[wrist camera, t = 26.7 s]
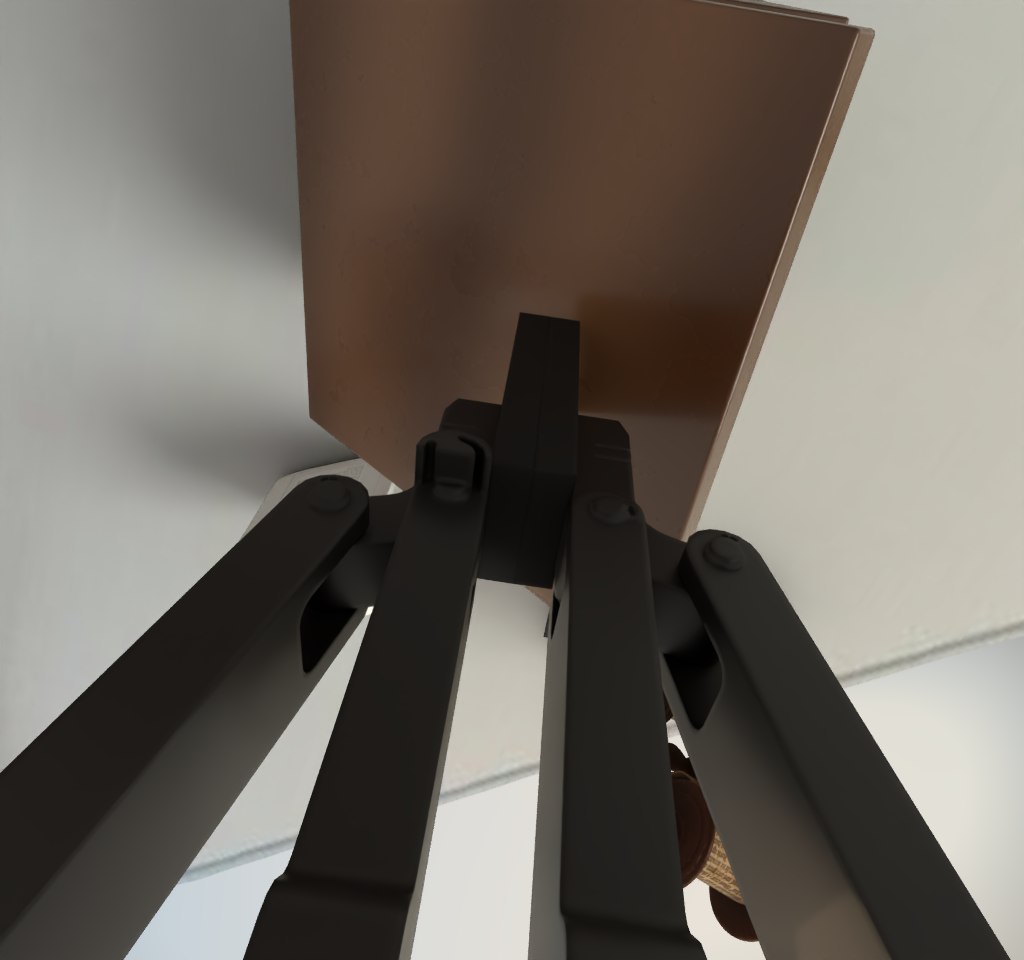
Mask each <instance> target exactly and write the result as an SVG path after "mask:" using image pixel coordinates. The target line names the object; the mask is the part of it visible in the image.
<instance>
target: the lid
mask: <svg viewBox="0 0 1024 960" xmlns="http://www.w3.org/2000/svg"><path fill="white" fill-rule="evenodd" d="M289 7H290V27H291V47H292V68H293V88H294V108H295V129H296V149H297V170H298V190H299V210H300V231H301V251H302V271H303V292H304V312H305V332H306V353H307V373H308V393H309V414H310V418H311V419H312V420H313V421H315V422H316V423H317V424H318V425H320V426H321V427H322V428H323V429H325V430H326V431H327V432H329V433H330V434H331V435H332V436H334V437H335V438H336V439H337V440H339V441H340V442H341V443H343V444H344V445H345V446H346V447H348V448H349V449H350V450H351V451H353V452H354V453H355V454H357V455H358V456H359V457H360V458H362V459H363V460H364V461H365V462H367V463H368V464H369V465H371V466H372V467H373V468H374V469H376V470H377V471H378V472H379V473H381V474H382V475H383V476H385V477H386V478H387V479H388V480H390V481H391V482H392V483H393V484H395V485H396V486H397V487H399V488H400V489H401V490H402V491H406V490H408V489H410V488H411V487H413V486H414V481H415V462H416V445H417V444H418V442H419V441H420V440H421V438H422V437H424V436H426V435H428V434H430V433H432V432H437V431H438V429H439V426H440V424H441V420H442V417H443V413H444V410H445V408H447V407H448V406H449V405H450V404H452V403H453V402H454V401H455V400H457V399H458V398H460V399H467V400H474V401H480V402H487V403H493V404H500V405H502V401H503V396H504V391H505V386H506V381H507V376H508V370H509V365H510V360H511V355H512V350H513V345H514V340H515V335H516V329H517V324H518V319H519V314H520V312H523V313H530V314H536V315H543V316H549V317H556V318H563V319H569V320H576V321H580V351H579V400H578V415H584V416H590V417H597V418H604V419H610V420H617V421H619V422H620V423H621V425H622V426H623V427H624V429H625V430H626V431H627V433H628V434H629V439H630V452H631V464H632V472H633V483H634V495H635V502H636V503H637V504H638V505H639V506H640V507H641V508H642V510H643V513H644V516H645V519H646V523H647V524H648V525H650V526H651V527H653V528H654V529H656V530H657V531H659V532H661V533H663V534H665V535H668V536H670V537H673V538H675V539H678V540H681V541H683V542H686V543H687V541H688V538H689V536H691V535H693V534H694V533H695V530H696V528H697V525H698V522H699V519H700V517H701V514H702V511H703V508H704V506H705V503H706V500H707V497H708V495H709V492H710V489H711V486H712V483H713V481H714V478H715V475H716V472H717V470H718V467H719V464H720V461H721V459H722V456H723V453H724V450H725V448H726V445H727V442H728V439H729V437H730V434H731V431H732V428H733V426H734V423H735V420H736V417H737V414H738V412H739V409H740V406H741V403H742V401H743V398H744V395H745V392H746V390H747V387H748V384H749V381H750V379H751V376H752V373H753V370H754V368H755V365H756V362H757V359H758V356H759V354H760V351H761V348H762V345H763V343H764V340H765V337H766V334H767V332H768V329H769V326H770V323H771V321H772V318H773V315H774V312H775V310H776V307H777V304H778V301H779V299H780V296H781V293H782V290H783V287H784V285H785V282H786V279H787V276H788V274H789V271H790V268H791V265H792V263H793V260H794V257H795V254H796V252H797V249H798V246H799V243H800V241H801V238H802V235H803V232H804V229H805V227H806V224H807V221H808V218H809V216H810V213H811V210H812V207H813V205H814V202H815V199H816V196H817V194H818V191H819V188H820V185H821V183H822V180H823V177H824V174H825V172H826V169H827V166H828V163H829V160H830V158H831V155H832V152H833V149H834V147H835V144H836V141H837V138H838V136H839V133H840V130H841V127H842V125H843V122H844V119H845V116H846V114H847V111H848V108H849V105H850V103H851V100H852V97H853V94H854V91H855V89H856V86H857V83H858V80H859V78H860V75H861V72H862V69H863V67H864V64H865V61H866V58H867V56H868V53H869V50H870V47H871V45H872V42H873V39H874V36H875V31H874V30H873V29H872V28H866V27H860V26H854V25H848V24H842V23H837V22H831V21H825V20H819V19H813V18H807V17H801V16H795V15H789V14H783V13H777V12H771V11H765V10H759V9H753V8H747V7H741V6H735V5H729V4H723V3H717V2H711V1H705V0H289ZM554 580H555V578H554ZM523 586H524V587H526V588H527V589H528V590H530V591H531V592H532V593H533V594H535V595H536V596H537V597H538V598H540V599H541V600H542V601H544V602H545V603H546V604H547V605H549V606H550V605H551V601H552V596H553V592H554V583H553V588H552V589H546V588H539V587H532V586H526V585H523Z"/></svg>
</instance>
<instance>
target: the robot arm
mask: <svg viewBox="0 0 1024 960" xmlns="http://www.w3.org/2000/svg"><path fill="white" fill-rule="evenodd" d="M579 351H580V321H576V320H569V319H563V318H556V317H549V316H543V315H536V314H530V313H523V312H520V314H519V319H518V324H517V329H516V335H515V340H514V345H513V350H512V355H511V360H510V365H509V370H508V376H507V381H506V386H505V391H504V396H503V401H502V405H500V404H493V403H487V402H480V401H474V400H467V399H460V398H458V399H457V400H455V401H454V402H453V403H452V404H450V405H449V406H448V407H447V408H445V410H444V413H443V417H442V420H441V424H440V426H439V429H438V431H437V432H432V433H430V434H428V435H426V436H424V437H422V438H421V440H420V441H419V442H418V444H417V445H416V462H415V481H414V486H413V487H411V488H410V489H408V490H406V491H402V492H399V493H396V494H389V495H378V496H369V494H368V490H367V489H366V488H365V486H364V485H363V484H362V483H361V482H359V481H357V480H355V479H353V478H351V477H347V476H342V475H336V474H332V475H319V476H316V477H312V478H309V479H306V480H305V481H303V482H302V483H300V484H299V485H297V486H296V487H295V488H294V489H293V490H292V491H291V492H289V493H288V494H287V495H286V496H285V497H284V498H283V499H282V500H281V501H280V502H279V503H278V504H277V505H276V506H275V507H274V508H273V509H272V510H271V511H270V512H269V513H268V514H267V515H266V516H265V517H264V518H263V519H262V520H261V521H260V522H259V523H258V524H256V525H255V526H254V527H253V528H252V529H251V530H250V531H249V532H248V533H247V534H246V535H245V536H244V537H243V538H242V539H241V540H240V541H239V542H238V543H237V544H236V545H235V546H234V547H233V548H232V549H231V550H230V551H229V552H228V553H227V554H226V555H225V556H223V557H222V558H221V559H220V560H219V561H218V562H217V563H216V564H215V565H214V566H213V567H212V568H211V569H210V570H209V571H208V572H207V573H206V574H205V575H204V576H203V577H202V578H201V579H200V580H199V581H198V582H197V583H196V584H195V585H194V586H193V587H192V588H191V589H189V590H188V591H187V592H186V593H185V594H184V595H183V596H182V597H181V598H180V599H179V600H178V601H177V602H176V603H175V604H174V605H173V606H172V607H171V608H170V609H169V610H168V611H167V612H166V613H165V614H164V615H163V616H162V617H161V618H160V619H159V620H158V621H156V622H155V623H154V624H153V625H152V626H151V627H150V628H149V629H148V630H147V631H146V632H145V633H144V634H143V635H142V636H141V637H140V638H139V639H138V640H137V641H136V642H135V643H134V644H133V645H132V646H131V647H130V648H129V649H128V650H127V651H126V652H125V653H123V654H122V655H121V656H120V657H119V658H118V659H117V660H116V661H115V662H114V663H113V664H112V665H111V666H110V667H109V668H108V669H107V670H106V671H105V672H104V673H103V674H102V675H101V676H100V677H99V678H98V679H97V680H96V681H95V682H94V683H93V684H92V685H91V686H89V687H88V688H87V689H86V690H85V691H84V692H83V693H82V694H81V695H80V696H79V697H78V698H77V699H76V700H75V701H74V702H73V703H72V704H71V705H70V706H69V707H68V708H67V709H66V710H65V711H64V712H63V713H62V714H61V715H60V716H59V717H58V718H56V719H55V720H54V721H53V722H52V723H51V724H50V725H49V726H48V727H47V728H46V729H45V730H44V731H43V732H42V733H41V734H40V735H39V736H38V737H37V738H36V739H35V740H34V741H33V742H32V743H31V744H30V745H29V746H28V747H27V748H26V749H25V750H23V751H22V752H21V753H20V754H19V755H18V756H17V757H16V758H15V759H14V760H13V761H12V762H11V763H10V764H9V765H8V766H7V767H6V768H5V769H4V770H3V771H2V772H1V773H0V960H123V959H124V958H125V957H126V955H127V954H128V952H129V951H130V950H131V948H132V947H133V945H134V944H135V943H136V941H137V940H138V938H139V937H140V935H141V934H142V932H143V931H144V930H145V928H146V927H147V925H148V924H149V922H150V921H151V920H152V918H153V917H154V915H155V914H156V913H157V911H158V910H159V908H160V907H161V906H162V904H163V903H164V901H165V899H166V898H167V897H168V896H169V894H170V893H171V891H172V890H173V888H174V887H175V886H176V884H177V883H178V881H179V880H180V878H181V877H182V876H183V874H184V873H185V871H186V870H187V869H188V867H189V866H190V864H191V863H192V861H193V860H194V859H195V857H196V856H197V854H198V853H199V851H200V850H201V849H202V847H203V846H204V844H205V843H206V841H207V840H208V839H209V837H210V836H211V834H212V833H213V832H214V830H215V829H216V827H217V826H218V824H219V823H220V822H221V820H222V819H223V817H224V816H225V814H226V813H227V812H228V810H229V809H230V807H231V806H232V804H233V803H234V802H235V800H236V799H237V797H238V796H239V794H240V793H241V792H242V790H243V789H244V787H245V786H246V785H247V783H248V782H249V780H250V779H251V777H252V776H253V775H254V773H255V772H256V770H257V769H258V767H259V766H260V765H261V763H262V762H263V760H264V759H265V757H266V756H267V755H268V753H269V752H270V750H271V749H272V748H273V746H274V745H275V743H276V742H277V740H278V739H279V738H280V736H281V735H282V733H283V732H284V730H285V729H286V728H287V726H288V725H289V723H290V722H291V720H292V719H293V718H294V716H295V715H296V713H297V712H298V711H299V709H300V708H301V706H302V705H303V703H304V702H305V701H306V699H307V698H308V696H309V695H310V693H311V692H312V691H313V689H314V688H315V686H316V685H317V683H318V682H319V681H320V679H321V678H322V676H323V675H324V674H325V672H326V671H327V669H328V668H329V666H330V665H331V664H332V662H333V661H334V659H335V658H336V656H337V655H338V654H339V652H340V651H341V649H342V648H343V646H344V645H345V644H346V642H347V641H348V639H349V638H350V636H351V635H352V634H353V632H354V631H355V629H356V628H357V627H358V625H359V624H360V622H361V621H362V619H363V618H364V617H365V614H366V612H367V609H368V607H373V610H372V613H371V616H370V619H369V622H368V625H367V628H366V631H365V634H364V637H363V640H362V643H361V646H360V649H359V653H358V656H357V659H356V662H355V665H354V668H353V671H352V674H351V677H350V680H349V683H348V686H347V689H346V692H345V695H344V698H343V701H342V704H341V707H340V710H339V713H338V716H337V719H336V722H335V725H334V728H333V731H332V734H331V737H330V740H329V743H328V746H327V749H326V752H325V755H324V759H323V762H322V765H321V768H320V771H319V774H318V777H317V780H316V783H315V786H314V789H313V792H312V795H311V798H310V801H309V804H308V807H307V810H306V813H305V816H304V819H303V822H302V825H301V828H300V831H299V834H298V837H297V840H296V843H295V846H294V849H293V852H292V855H291V858H290V860H289V863H288V866H287V867H286V870H285V871H284V873H283V874H282V875H280V876H279V877H278V878H276V879H275V880H274V882H273V883H272V885H271V887H270V889H269V891H268V892H267V895H266V897H265V899H264V902H263V905H262V907H261V910H260V912H259V915H258V917H257V920H256V923H255V926H254V929H253V932H252V935H251V938H250V941H249V944H248V947H247V949H246V952H245V955H244V958H243V960H410V959H411V953H412V947H413V942H414V937H415V931H416V925H417V919H418V914H419V908H420V903H421V896H422V891H423V885H424V880H425V874H426V868H427V863H428V857H429V851H430V845H431V840H432V834H433V829H434V823H435V817H436V812H437V806H438V800H439V795H440V789H441V783H442V777H443V772H444V766H445V760H446V755H447V749H448V743H449V738H450V732H451V726H452V721H453V715H454V709H455V704H456V698H457V692H458V687H459V681H460V675H461V669H462V664H463V658H464V652H465V647H466V641H467V635H468V630H469V624H470V618H471V613H472V607H473V601H474V595H475V587H476V579H477V578H479V579H486V580H492V581H499V582H506V583H512V584H519V585H526V586H532V587H539V588H546V589H552V588H553V583H554V592H553V596H552V601H551V605H550V610H549V614H548V619H547V623H546V628H545V632H544V637H548V643H547V659H546V675H545V691H544V708H543V724H542V740H541V756H540V772H539V788H538V804H537V820H536V837H535V852H534V869H533V885H532V900H531V901H532V902H531V917H530V932H529V948H528V949H529V950H528V960H707V958H706V955H705V952H704V950H703V947H702V944H701V943H700V942H699V941H698V940H697V939H696V938H695V937H694V936H693V935H691V933H690V931H689V928H688V925H687V920H686V914H685V906H684V895H683V885H682V875H681V865H680V855H679V845H678V836H677V826H676V816H675V806H674V796H673V786H672V776H671V766H670V756H669V747H668V737H667V727H666V717H665V707H664V697H663V690H664V693H665V696H666V698H667V701H668V703H669V706H670V709H671V711H672V714H673V717H674V719H675V722H676V724H677V727H678V730H679V732H680V735H681V738H682V740H683V743H684V746H685V748H686V751H687V753H688V756H689V759H690V761H691V764H692V767H693V769H694V772H695V774H696V777H697V780H698V782H699V785H700V788H701V790H702V793H703V795H704V798H705V801H706V803H707V806H708V809H709V811H710V814H711V817H712V819H713V822H714V824H715V827H716V830H717V832H718V835H719V838H720V840H721V843H722V845H723V848H724V851H725V853H726V856H727V859H728V861H729V864H730V866H731V869H732V872H733V874H734V877H735V880H736V882H737V885H738V887H739V890H740V893H741V895H742V898H743V901H744V903H745V906H746V909H747V911H748V914H749V916H750V919H751V922H752V924H753V927H754V930H755V932H756V935H757V937H758V940H759V942H760V945H761V948H762V951H763V953H764V956H765V958H766V960H1010V958H1009V956H1008V955H1007V953H1006V951H1005V950H1004V948H1003V947H1002V945H1001V943H1000V942H999V940H998V939H997V937H996V935H995V934H994V932H993V930H992V929H991V927H990V926H989V924H988V922H987V921H986V919H985V918H984V916H983V914H982V913H981V911H980V909H979V908H978V906H977V905H976V903H975V901H974V900H973V898H972V897H971V895H970V893H969V892H968V890H967V888H966V887H965V885H964V884H963V882H962V880H961V879H960V877H959V876H958V874H957V872H956V871H955V869H954V867H953V866H952V864H951V863H950V861H949V859H948V858H947V856H946V854H945V853H944V851H943V850H942V848H941V846H940V845H939V843H938V842H937V840H936V838H935V837H934V835H933V834H932V832H931V830H930V829H929V827H928V825H927V824H926V822H925V821H924V819H923V817H922V816H921V814H920V813H919V811H918V809H917V808H916V806H915V804H914V803H913V801H912V800H911V798H910V796H909V795H908V793H907V791H906V790H905V788H904V787H903V785H902V783H901V782H900V780H899V779H898V777H897V776H896V774H895V772H894V770H893V769H892V767H891V766H890V764H889V762H888V761H887V759H886V758H885V756H884V754H883V753H882V751H881V749H880V748H879V746H878V745H877V743H876V742H875V740H874V738H873V737H872V735H871V733H870V732H869V730H868V728H867V727H866V725H865V724H864V722H863V720H862V719H861V717H860V716H859V714H858V712H857V711H856V709H855V708H854V706H853V704H852V703H851V701H850V699H849V698H848V696H847V695H846V693H845V691H844V690H843V688H842V686H841V685H840V683H839V682H838V680H837V678H836V677H835V675H834V673H833V672H832V670H831V669H830V667H829V665H828V664H827V662H826V661H825V659H824V657H823V656H822V654H821V652H820V651H819V649H818V648H817V646H816V644H815V643H814V641H813V640H812V638H811V636H810V635H809V633H808V631H807V630H806V628H805V627H804V625H803V623H802V622H801V620H800V619H799V617H798V615H797V614H796V612H795V610H794V609H793V607H792V606H791V604H790V602H789V601H788V599H787V598H786V596H785V594H784V593H783V591H782V589H781V588H780V586H779V585H778V583H777V581H776V580H775V578H774V577H773V575H772V573H771V572H770V570H769V568H768V567H767V565H766V564H765V562H764V560H763V559H762V557H761V556H760V554H759V553H758V552H757V551H756V549H755V548H754V547H753V546H752V545H751V544H750V543H748V542H747V541H745V540H743V539H742V538H740V537H739V536H736V535H734V534H731V533H728V532H726V531H720V530H712V529H708V530H702V531H697V532H696V533H694V534H693V535H691V536H689V538H688V541H687V543H686V542H683V541H681V540H678V539H675V538H673V537H670V536H668V535H665V534H663V533H661V532H659V531H657V530H656V529H654V528H653V527H651V526H650V525H648V524H647V523H646V519H645V516H644V513H643V510H642V508H641V507H640V506H639V505H638V504H637V503H636V502H635V495H634V483H633V472H632V464H631V452H630V439H629V434H628V433H627V431H626V430H625V429H624V427H623V426H622V425H621V423H620V422H619V421H617V420H610V419H604V418H597V417H590V416H584V415H578V400H579ZM554 578H555V580H554Z"/></svg>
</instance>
